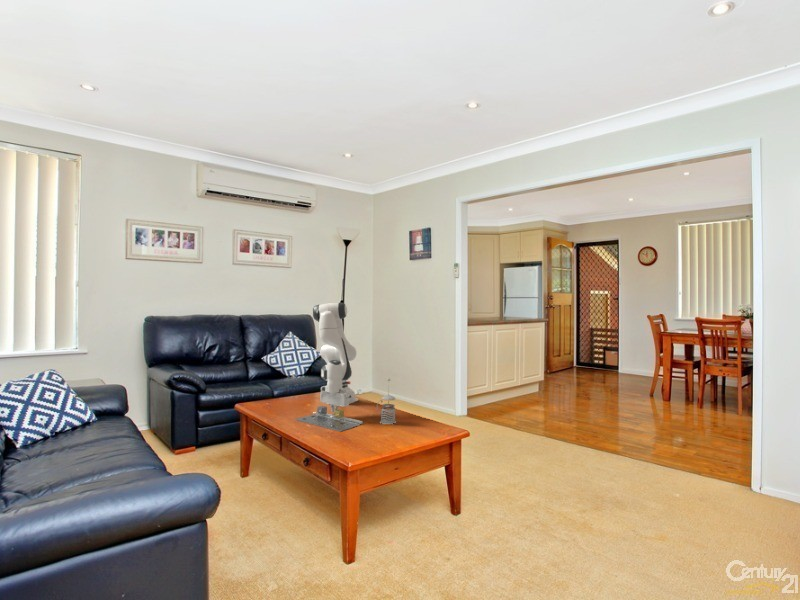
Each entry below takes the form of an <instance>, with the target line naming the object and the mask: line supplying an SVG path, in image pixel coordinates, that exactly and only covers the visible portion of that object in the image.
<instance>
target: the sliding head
mask: <svg viewBox="0 0 800 600" xmlns="http://www.w3.org/2000/svg"><path fill="white" fill-rule="evenodd" d="M333 415H334V416H331V417H330V418H333V417H345V410H344V409H341V408H338V409H337V410H334V412H333Z"/></svg>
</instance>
